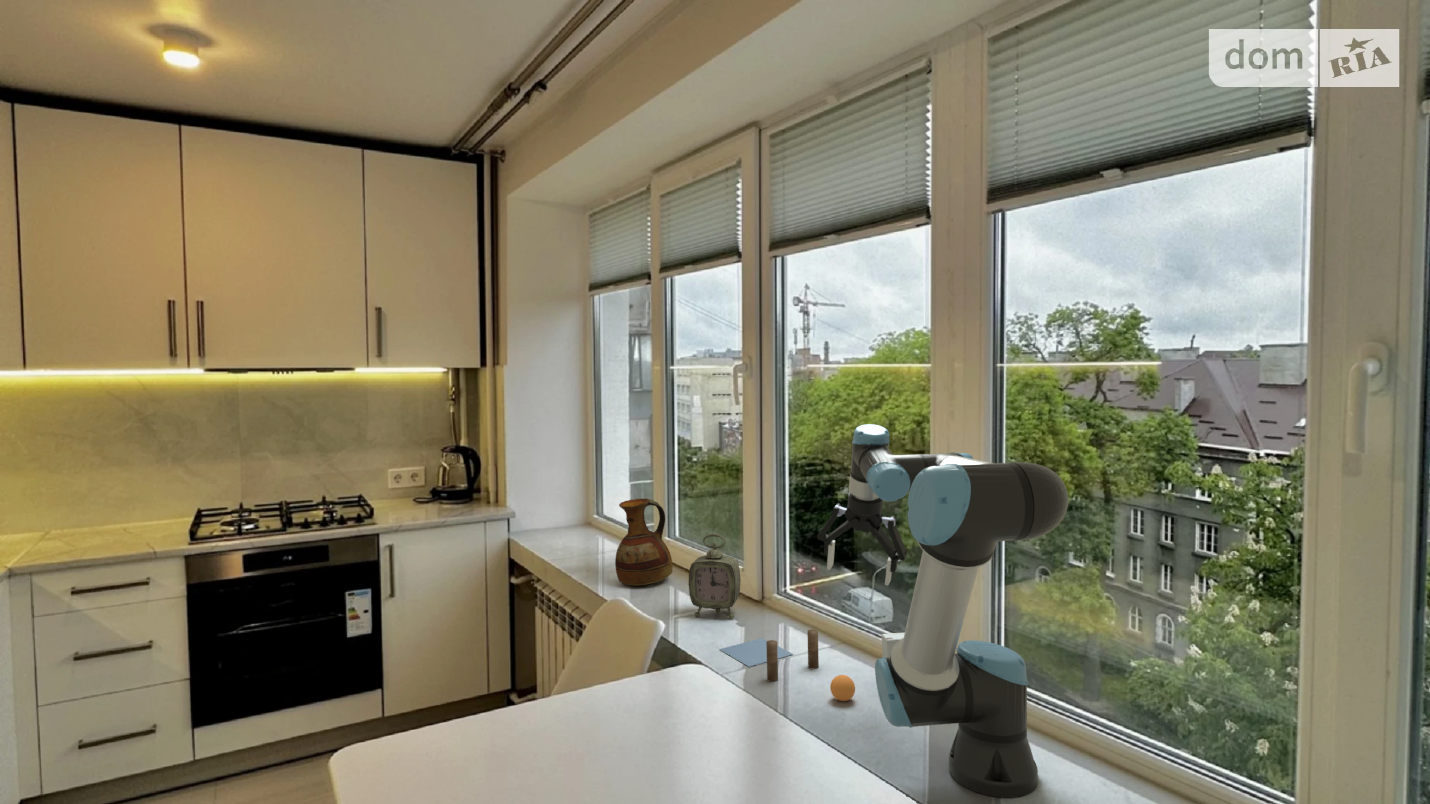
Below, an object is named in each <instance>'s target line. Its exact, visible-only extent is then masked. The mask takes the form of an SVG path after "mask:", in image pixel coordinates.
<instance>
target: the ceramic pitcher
mask: <svg viewBox="0 0 1430 804" xmlns="http://www.w3.org/2000/svg"><path fill="white" fill-rule="evenodd" d="M648 506H654V507H655V508H657V511H658V514H659V515H658V517H659V521H658V525H657V528H656V529H655V531H653V530H650V529H649V527H648V526H647V523H646V519H645V509H646V508H647V507H648ZM618 507H619V508H621V509H622V510H623V511H624V512H625V516H626V519H625V520H626V523H627V525H628V528H627V534H626V535H625V536H623V538H622V540H621V541H620V543H619V545H618V546H617V550H616V551H615V552H616V553H615V563H614V564H615V565H614V566H615V572H616V576H617V579H618V581H619V582H621V583H622V584H624V585H627V586H628V585H629V586H644V585H645V586H646V585H650V584H655V583H658V582H660V581H662V580H665V579H666V578H668V577H670V576H671V575H672V574H673V559H672V555H671V551H670V549H669V548H668V546H667V545H666V543H665V542H664V540H663V533H664V530H665V529H664V528H665V525H666V514H665V513H666V512H665V510H664V508H663V506H661V505H660V503H659V502H657V501H655V500H653V499H651V498H642V497H641V498H634V499H628V500H625V501H622V502H620V503H619V505H618Z"/></svg>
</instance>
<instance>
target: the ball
mask: <svg viewBox="0 0 1430 804" xmlns="http://www.w3.org/2000/svg"><path fill="white" fill-rule="evenodd" d="M829 689H830V692H831V695H832V697H834V698H835V699H836V700H838V701H839V702H847V701H849V700H851V699H852V698H853V697H854V695H855V694H856V693H855V692H856V685H855V682H854V680H853V679H852V678H851V677H850V676H848V675H845V674H839V675H836V676H835V677H833V679H832V680H831V682H830V687H829Z"/></svg>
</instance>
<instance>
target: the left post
mask: <svg viewBox="0 0 1430 804" xmlns="http://www.w3.org/2000/svg"><path fill="white" fill-rule="evenodd" d="M766 645H767V662H766V679H767V681H769V682H776V681H778V680H779V665H778V664H779V663H778V662H779V661H778V660H779V659H778V653H777V646H778V641H777V640H774V639H773V640H772V639H771V640H770V639H769V640H767V642H766Z"/></svg>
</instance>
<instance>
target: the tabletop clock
mask: <svg viewBox="0 0 1430 804" xmlns="http://www.w3.org/2000/svg"><path fill="white" fill-rule="evenodd" d="M711 537H717V538H720V539H722V540H723V544H720V545H717V543H715V542H713V543H712V545H710V544H707V543H706V542H705V541H706V539H707V538H711ZM702 543H703V545H704V546H705V547H707V548H709V550H708V551H707V553H706V555H701V556H698V557H697V558H696V559H695V560H694V561H693V562H692V563H690V564H691V565H690V567H689V572H688V592H689V593H688V594H689V598H690V602H691V603H692V605H693V606H695V607H698V609H697V611H695V612H694V614H693V615H694V617H695V618H698V617H700V616H701V615H700V612H701V610H702V609H710V610H714V612H715V614H720V613H721V610H723V609H724V610H725V609H726V610H727V612H728V618H729V619H730V620H733V619H735V615H734V614H733V613H732V611H731V608H733V606H734V605H735V603H736V602H737V600H738V599H739V596H740V591H741V581H742V580H741V572H740V564H739V562H738V559H737V558H734V557H733V556H729V555H724V553H723V552H722V550H721V549H720V548H723V547H724V546H725V544H726V539H725V538H724V537H723V536H722V535H721V534H717V533H711V534H707V535H705V536H704V537H703V540H702Z"/></svg>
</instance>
